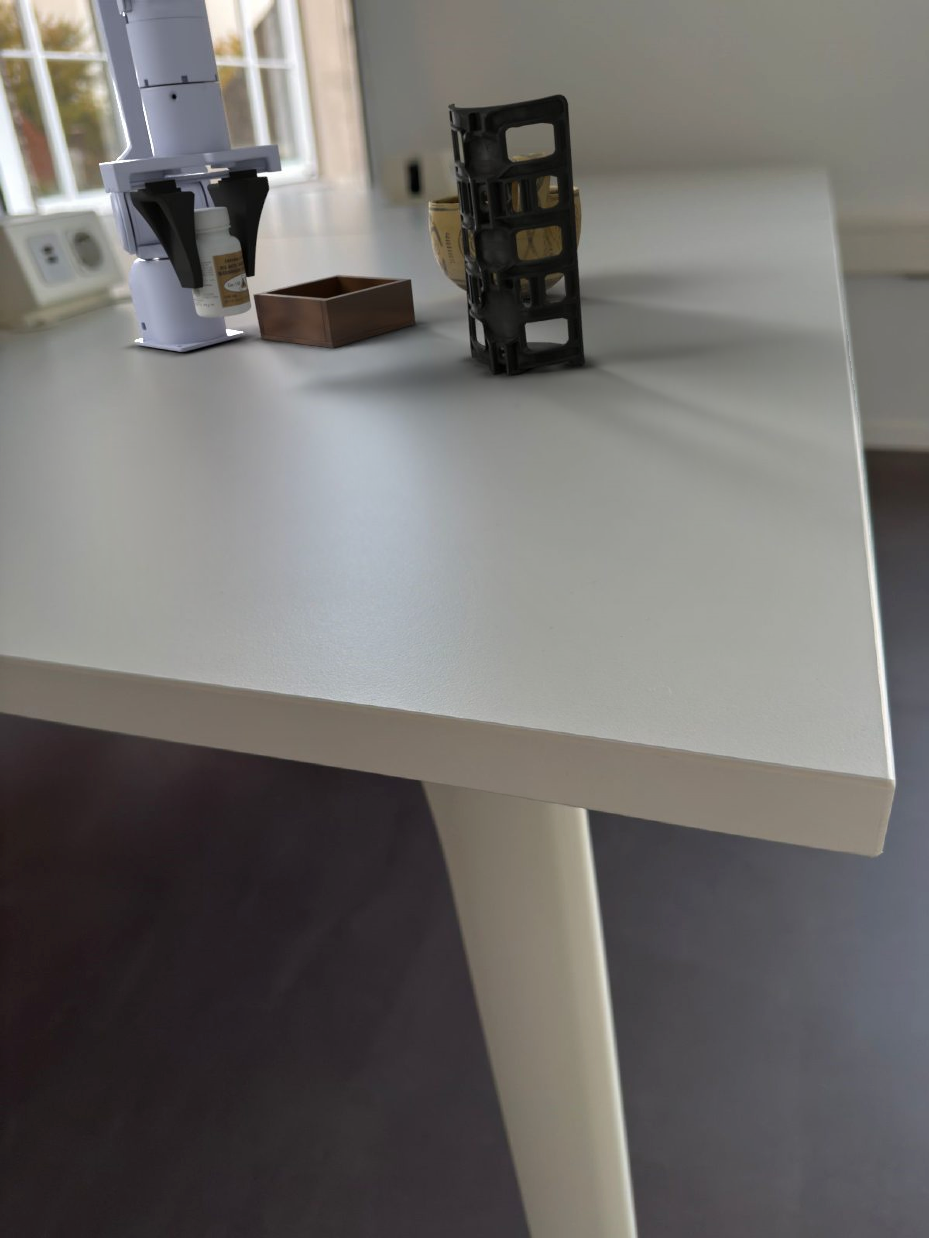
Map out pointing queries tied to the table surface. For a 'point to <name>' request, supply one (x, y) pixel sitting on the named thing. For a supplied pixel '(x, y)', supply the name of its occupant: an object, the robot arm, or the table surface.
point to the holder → (500, 226)
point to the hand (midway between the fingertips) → (218, 282)
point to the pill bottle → (219, 266)
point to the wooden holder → (335, 310)
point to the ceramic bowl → (529, 242)
